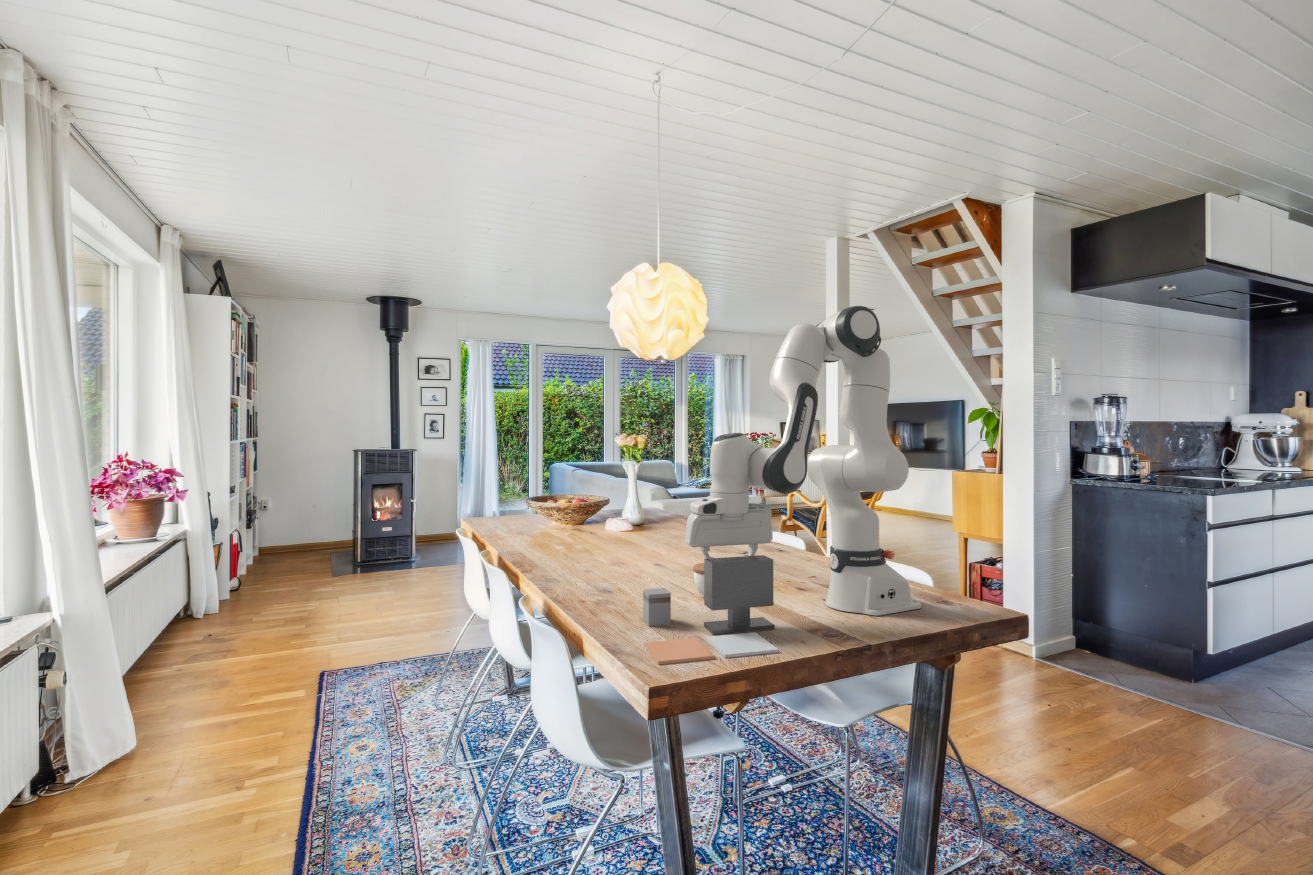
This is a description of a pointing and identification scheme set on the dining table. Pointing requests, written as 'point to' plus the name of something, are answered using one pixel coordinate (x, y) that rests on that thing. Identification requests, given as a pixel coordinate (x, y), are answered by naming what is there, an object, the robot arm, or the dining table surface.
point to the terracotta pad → (678, 651)
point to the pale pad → (741, 645)
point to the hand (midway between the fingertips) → (729, 564)
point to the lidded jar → (699, 577)
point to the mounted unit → (738, 592)
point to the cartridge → (657, 607)
